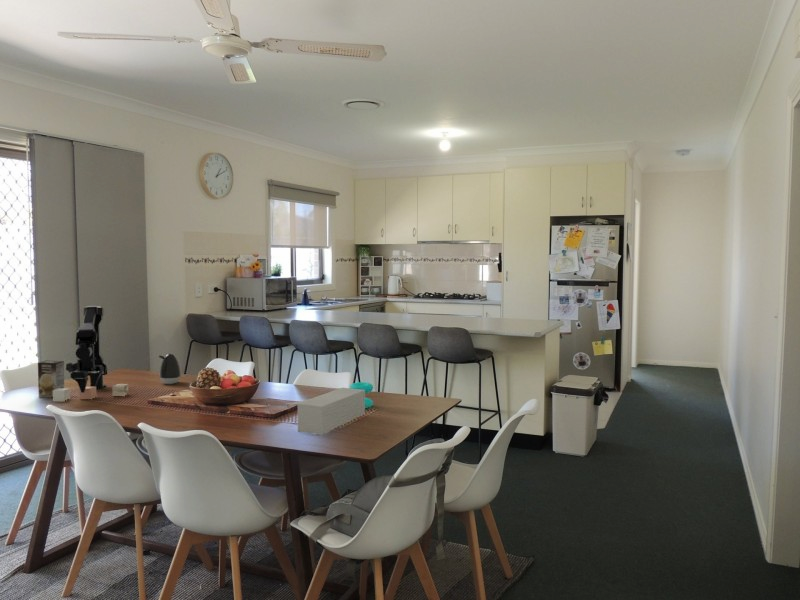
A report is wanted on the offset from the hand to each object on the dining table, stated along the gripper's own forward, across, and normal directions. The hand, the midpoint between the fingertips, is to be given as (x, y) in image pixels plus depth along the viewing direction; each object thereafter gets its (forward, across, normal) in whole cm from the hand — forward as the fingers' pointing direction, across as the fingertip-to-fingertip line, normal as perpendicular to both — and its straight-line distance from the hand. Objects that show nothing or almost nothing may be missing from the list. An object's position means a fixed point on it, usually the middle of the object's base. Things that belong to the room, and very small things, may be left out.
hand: (88, 390), depth 287 cm
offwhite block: (+4, +4, -10) cm, 11 cm away
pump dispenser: (+4, -35, +24) cm, 43 cm away
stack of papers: (+4, +40, +116) cm, 123 cm away
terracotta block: (+4, 0, 0) cm, 4 cm away
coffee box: (+4, -4, -19) cm, 20 cm away
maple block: (+4, -6, +12) cm, 14 cm away
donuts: (+4, +13, +125) cm, 126 cm away
